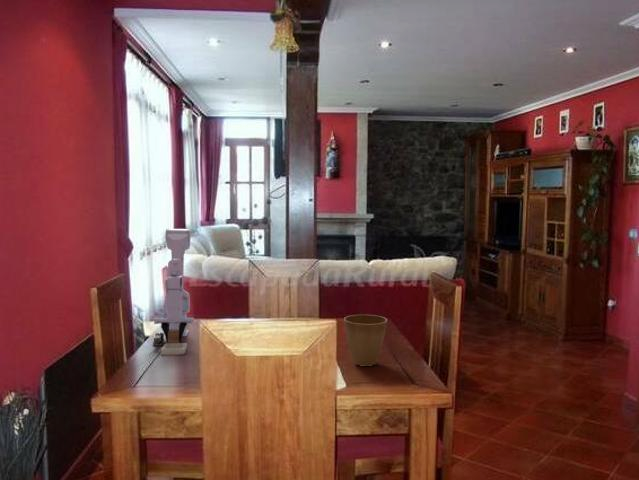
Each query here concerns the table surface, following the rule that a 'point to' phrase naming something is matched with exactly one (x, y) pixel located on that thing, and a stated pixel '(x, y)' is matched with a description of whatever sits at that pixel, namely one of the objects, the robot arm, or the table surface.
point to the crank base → (159, 344)
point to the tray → (174, 349)
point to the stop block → (173, 336)
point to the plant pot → (365, 337)
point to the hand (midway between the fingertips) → (174, 342)
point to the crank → (159, 338)
